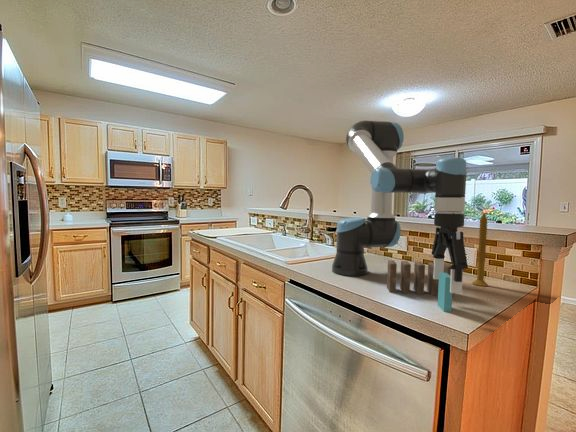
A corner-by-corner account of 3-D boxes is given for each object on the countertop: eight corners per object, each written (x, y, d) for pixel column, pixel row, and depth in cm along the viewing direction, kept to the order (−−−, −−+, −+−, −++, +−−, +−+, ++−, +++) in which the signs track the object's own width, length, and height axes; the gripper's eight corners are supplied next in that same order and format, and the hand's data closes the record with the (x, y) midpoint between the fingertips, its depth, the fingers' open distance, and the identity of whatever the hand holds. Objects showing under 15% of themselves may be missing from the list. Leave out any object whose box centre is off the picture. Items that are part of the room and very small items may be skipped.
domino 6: (443, 311, 81) (445, 277, 80) (437, 304, 86) (439, 272, 85) (451, 312, 81) (453, 277, 80) (444, 305, 86) (446, 272, 85)
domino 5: (446, 296, 94) (447, 266, 93) (440, 291, 99) (442, 262, 98) (452, 296, 93) (454, 266, 93) (446, 291, 99) (448, 263, 98)
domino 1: (389, 292, 97) (390, 263, 96) (386, 287, 102) (387, 260, 101) (395, 292, 97) (396, 263, 96) (392, 287, 102) (393, 260, 101)
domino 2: (403, 293, 96) (404, 264, 96) (400, 288, 101) (401, 260, 101) (409, 293, 96) (410, 264, 95) (405, 288, 101) (407, 261, 100)
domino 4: (431, 295, 95) (433, 265, 94) (426, 290, 100) (428, 262, 99) (438, 295, 94) (439, 266, 94) (433, 290, 99) (434, 262, 99)
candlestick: (475, 281, 111) (490, 285, 106) (469, 283, 108) (484, 287, 104) (479, 211, 109) (494, 212, 105) (473, 212, 106) (489, 212, 102)
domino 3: (417, 294, 95) (418, 265, 95) (413, 289, 101) (414, 261, 100) (423, 294, 95) (425, 265, 94) (419, 289, 100) (420, 261, 99)
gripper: (485, 214, 69) (481, 301, 70) (447, 211, 93) (444, 275, 94) (452, 214, 70) (448, 299, 71) (422, 211, 94) (420, 274, 95)
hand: (446, 285), depth 83 cm, fingers open, 13 cm apart
